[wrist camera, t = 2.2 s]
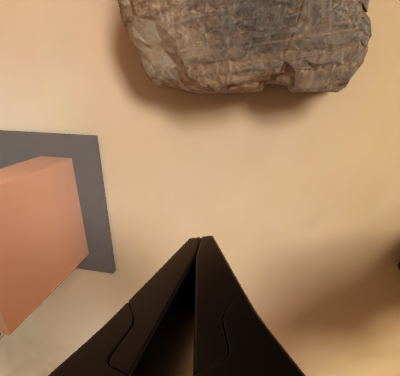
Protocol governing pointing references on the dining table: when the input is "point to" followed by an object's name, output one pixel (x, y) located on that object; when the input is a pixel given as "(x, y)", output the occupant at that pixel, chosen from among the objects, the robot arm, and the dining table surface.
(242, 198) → the dining table surface
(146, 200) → the dining table surface
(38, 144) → the mat
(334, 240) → the dining table surface
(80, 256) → the tile
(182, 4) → the grey rough flat stone
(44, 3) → the dining table surface
